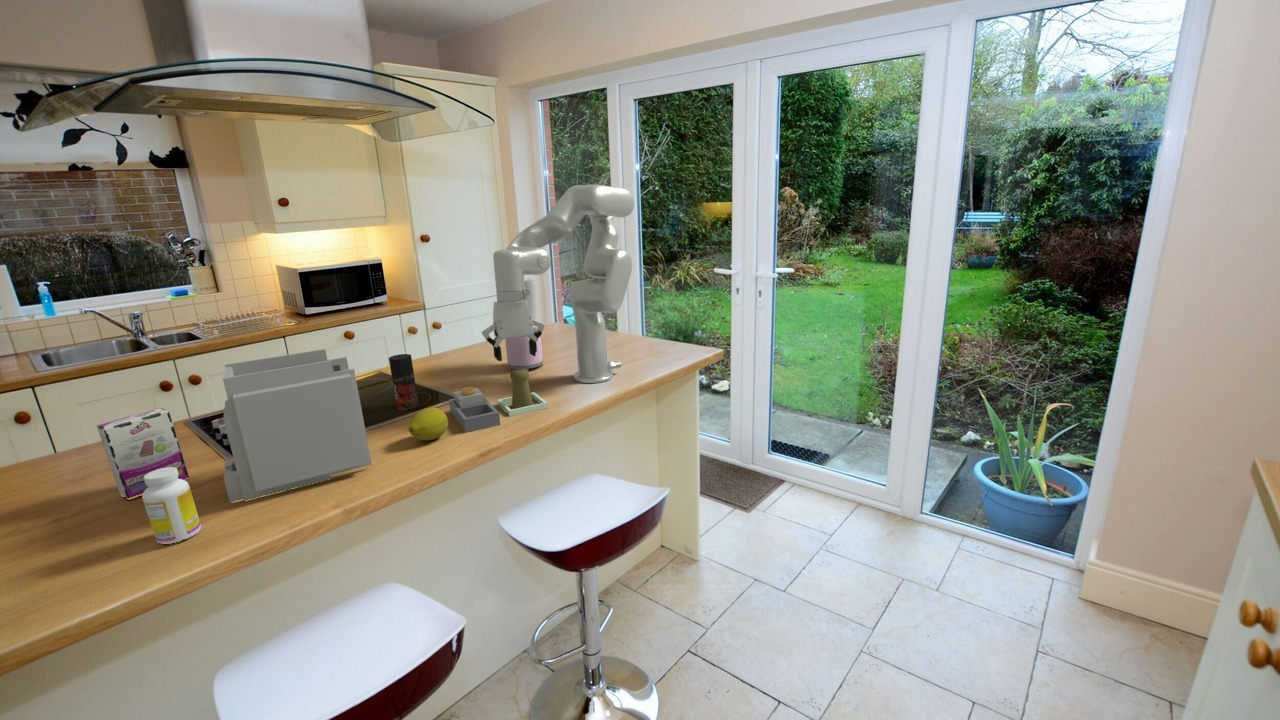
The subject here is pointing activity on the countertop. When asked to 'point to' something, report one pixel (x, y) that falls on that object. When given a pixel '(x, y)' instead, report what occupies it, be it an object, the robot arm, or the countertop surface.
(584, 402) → the countertop surface
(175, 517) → the supplement bottle
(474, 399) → the twin plug
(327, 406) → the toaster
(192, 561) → the countertop surface
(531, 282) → the blender
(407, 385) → the deodorant
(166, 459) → the candy bar box
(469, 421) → the grey hollow box
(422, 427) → the lemon
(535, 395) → the pale green square frame
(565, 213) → the robot arm
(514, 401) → the cork
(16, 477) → the countertop surface
